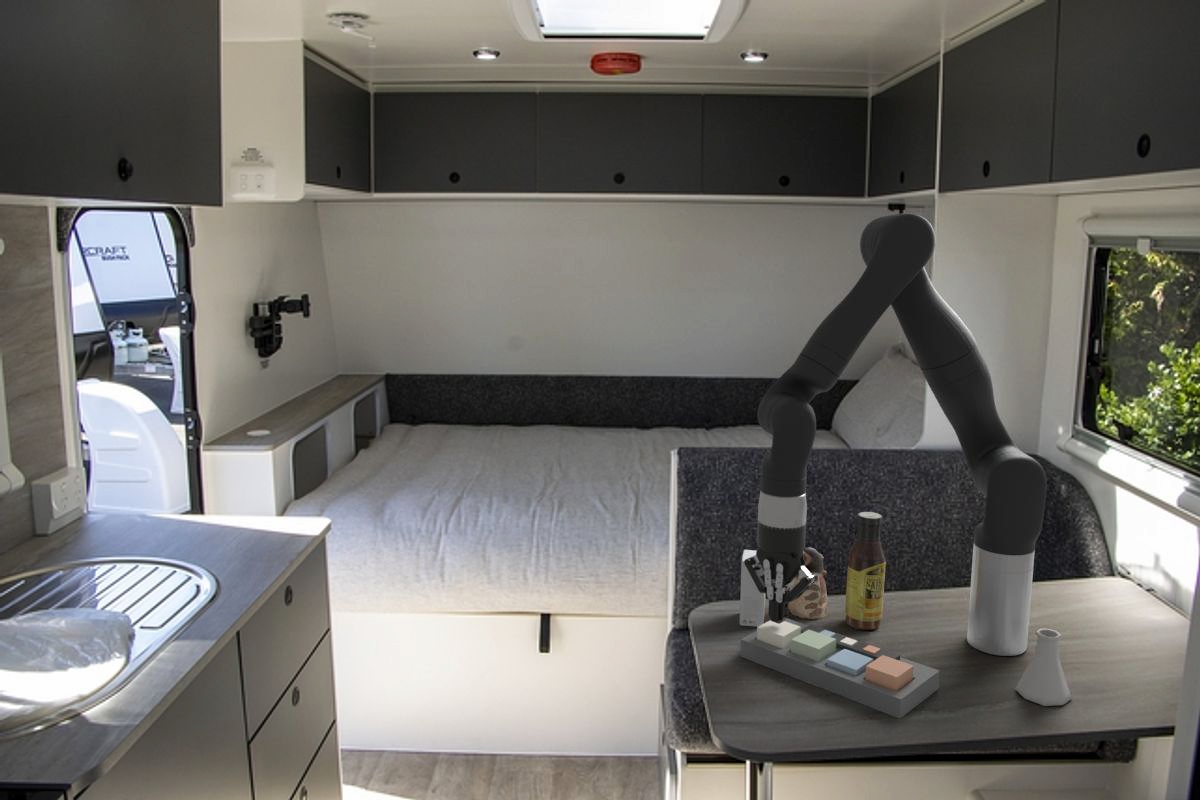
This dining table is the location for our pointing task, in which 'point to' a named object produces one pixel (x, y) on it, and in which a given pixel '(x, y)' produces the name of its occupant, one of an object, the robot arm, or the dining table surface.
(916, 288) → the robot arm
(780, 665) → the keypad board
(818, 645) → the key sage
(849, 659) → the key blue
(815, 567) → the figurine
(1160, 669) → the dining table surface
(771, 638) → the key cream
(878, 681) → the block
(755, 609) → the skincare box
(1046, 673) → the flask
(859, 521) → the sauce bottle
